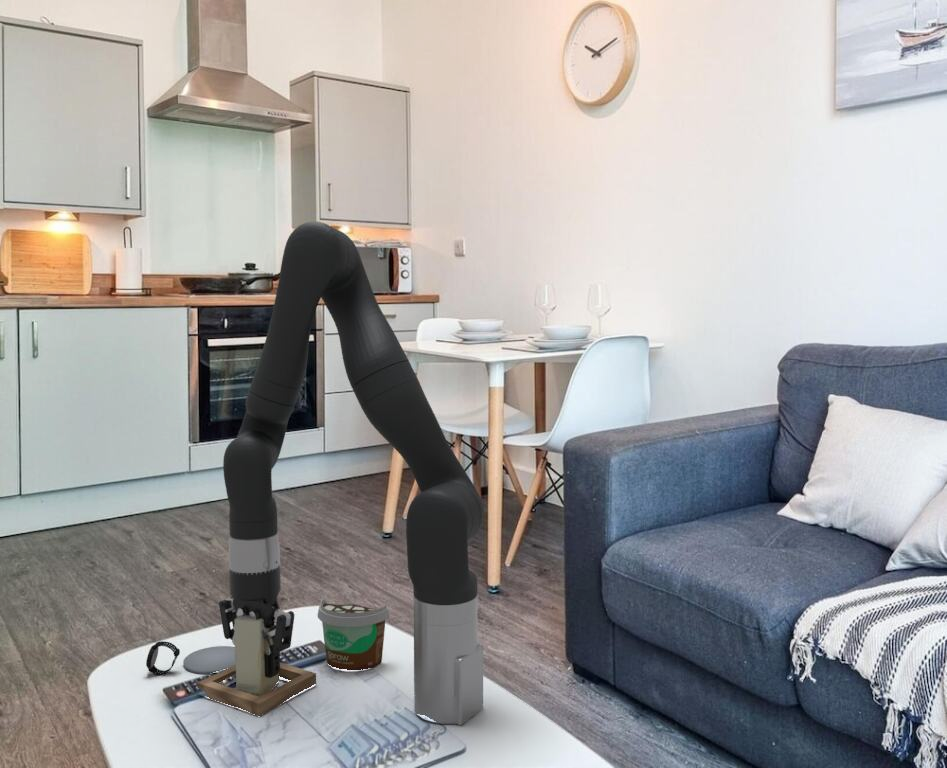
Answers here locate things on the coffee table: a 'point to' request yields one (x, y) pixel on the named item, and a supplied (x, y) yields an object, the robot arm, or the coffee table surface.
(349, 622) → the food container
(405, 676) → the coffee table surface
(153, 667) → the smartwatch
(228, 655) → the slate coaster
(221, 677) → the frame
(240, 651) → the skincare box
